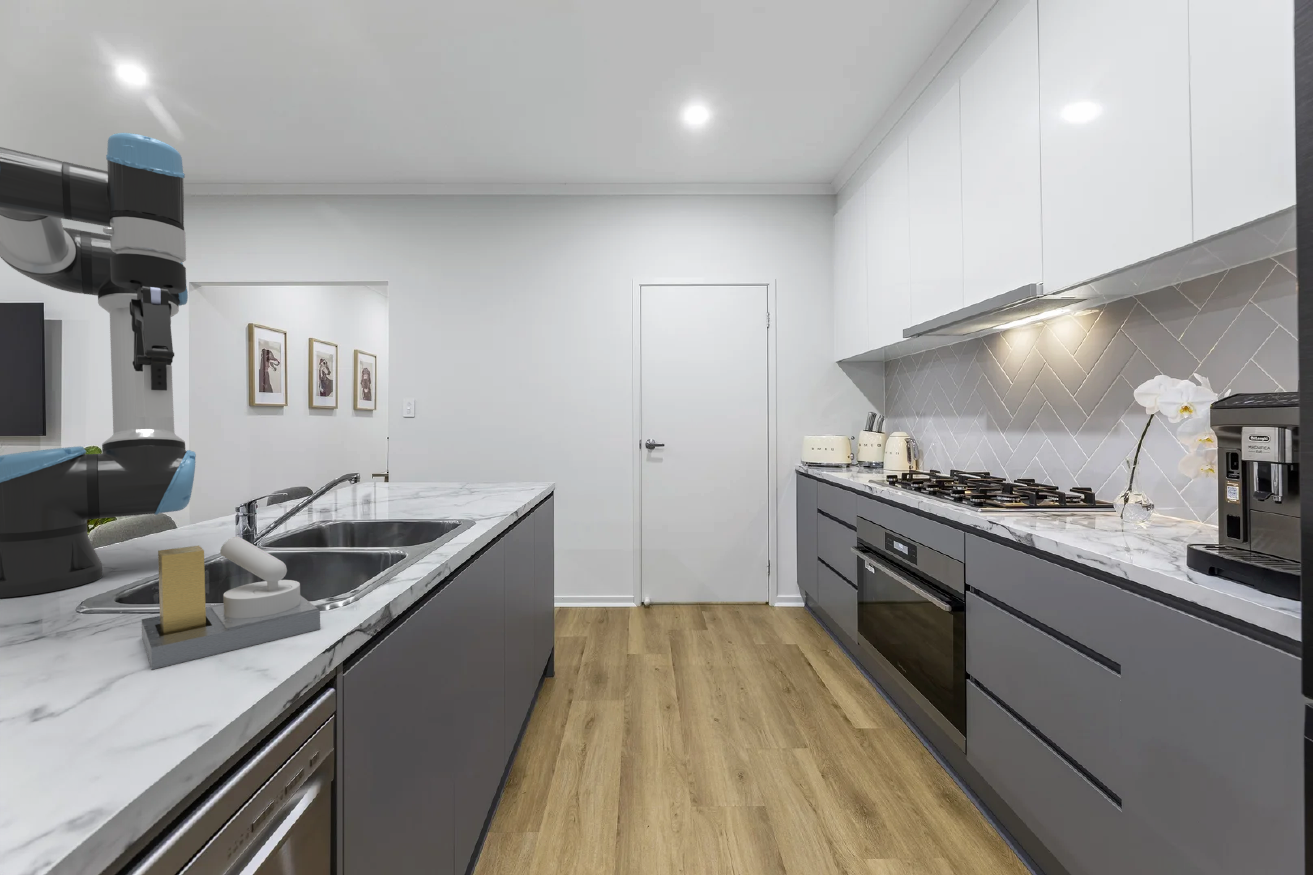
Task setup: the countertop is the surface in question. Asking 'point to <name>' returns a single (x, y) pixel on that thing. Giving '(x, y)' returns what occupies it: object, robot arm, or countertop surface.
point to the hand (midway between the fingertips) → (153, 417)
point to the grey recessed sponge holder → (225, 633)
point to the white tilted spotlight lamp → (258, 583)
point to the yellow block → (181, 589)
